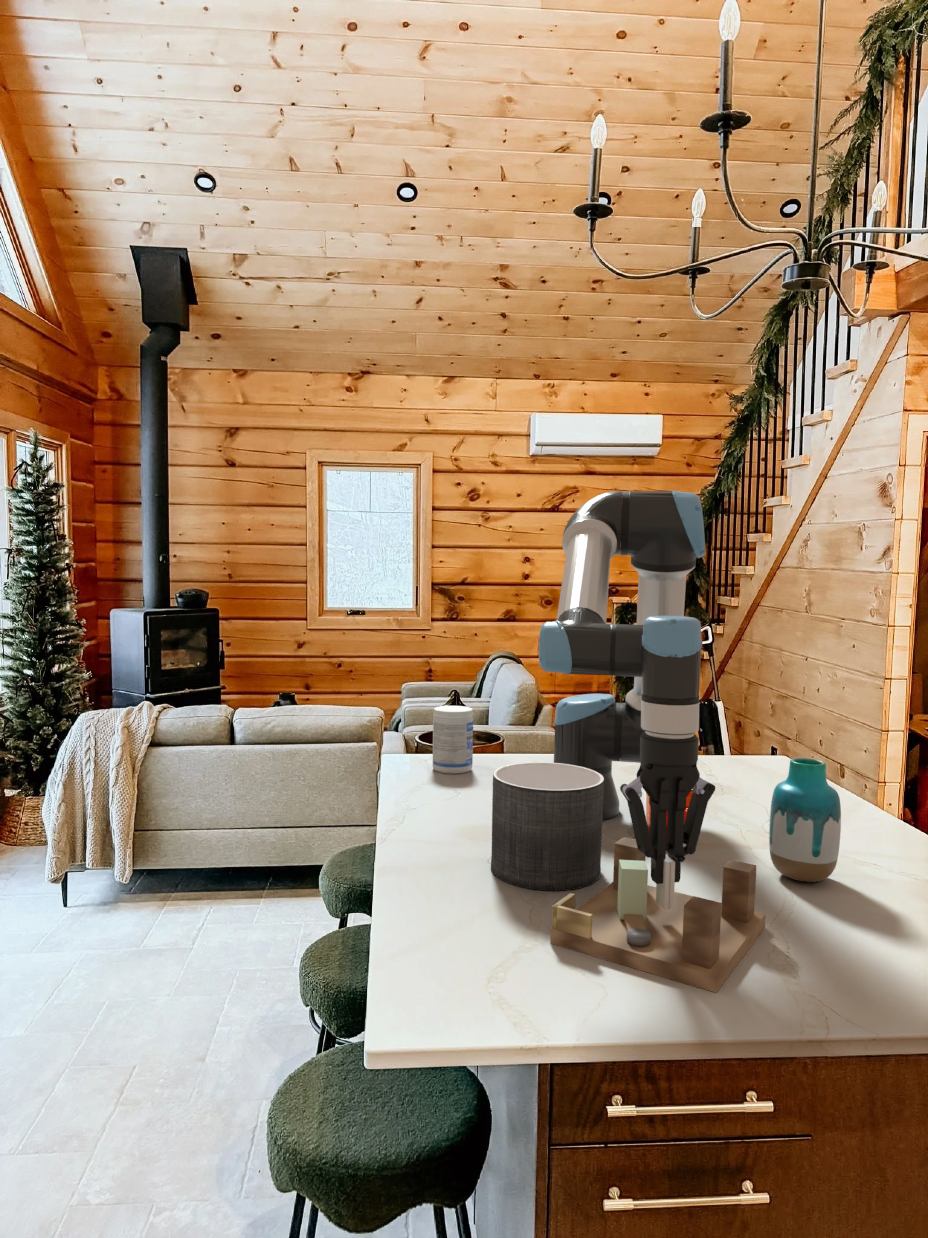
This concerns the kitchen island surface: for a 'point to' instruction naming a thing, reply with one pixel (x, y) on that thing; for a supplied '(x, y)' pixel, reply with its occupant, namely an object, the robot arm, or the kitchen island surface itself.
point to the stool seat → (667, 927)
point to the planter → (547, 825)
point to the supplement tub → (452, 739)
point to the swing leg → (633, 900)
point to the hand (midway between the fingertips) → (664, 905)
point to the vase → (805, 823)
